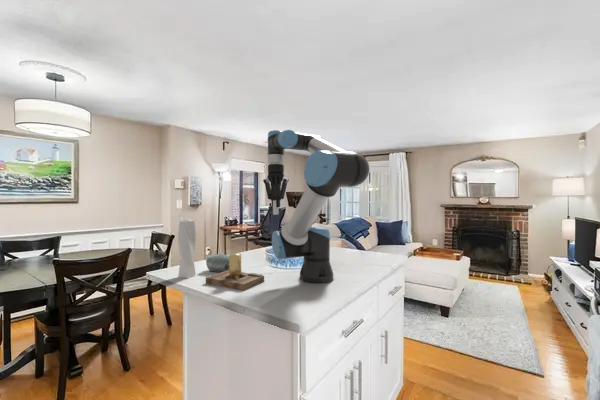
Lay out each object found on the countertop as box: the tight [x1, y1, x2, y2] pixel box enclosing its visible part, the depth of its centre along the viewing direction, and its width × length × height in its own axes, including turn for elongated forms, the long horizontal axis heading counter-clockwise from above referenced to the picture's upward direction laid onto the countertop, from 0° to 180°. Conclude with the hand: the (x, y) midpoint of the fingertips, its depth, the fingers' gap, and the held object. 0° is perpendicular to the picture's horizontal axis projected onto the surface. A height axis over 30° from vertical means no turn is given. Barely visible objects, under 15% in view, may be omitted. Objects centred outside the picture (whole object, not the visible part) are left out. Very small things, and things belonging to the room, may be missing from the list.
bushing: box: [228, 252, 242, 279], centre depth 123 cm, size 5×5×12 cm
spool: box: [205, 253, 229, 273], centre depth 142 cm, size 14×10×10 cm
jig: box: [205, 270, 265, 291], centre depth 124 cm, size 20×14×3 cm
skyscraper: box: [177, 215, 197, 279], centre depth 133 cm, size 8×8×28 cm
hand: (275, 214), depth 137 cm, fingers closed
